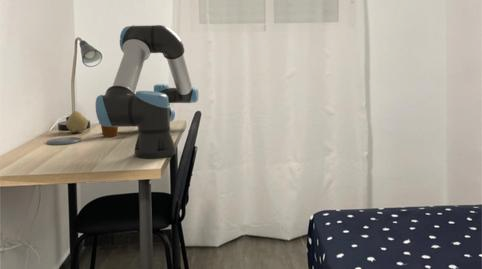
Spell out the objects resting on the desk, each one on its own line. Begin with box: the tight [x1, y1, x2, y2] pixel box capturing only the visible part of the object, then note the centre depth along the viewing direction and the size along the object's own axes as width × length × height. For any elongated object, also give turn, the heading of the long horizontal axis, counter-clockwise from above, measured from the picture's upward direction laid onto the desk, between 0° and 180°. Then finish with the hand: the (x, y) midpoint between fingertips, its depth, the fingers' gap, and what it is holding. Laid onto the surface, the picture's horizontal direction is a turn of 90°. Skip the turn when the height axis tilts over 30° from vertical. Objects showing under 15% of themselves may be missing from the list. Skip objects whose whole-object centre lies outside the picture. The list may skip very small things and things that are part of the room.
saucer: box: [46, 136, 82, 146], centre depth 203 cm, size 14×14×1 cm
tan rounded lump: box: [65, 110, 89, 134], centre depth 227 cm, size 10×12×11 cm
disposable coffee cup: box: [100, 124, 119, 138], centre depth 214 cm, size 10×10×12 cm
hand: (106, 122), depth 214 cm, fingers open, 13 cm apart
